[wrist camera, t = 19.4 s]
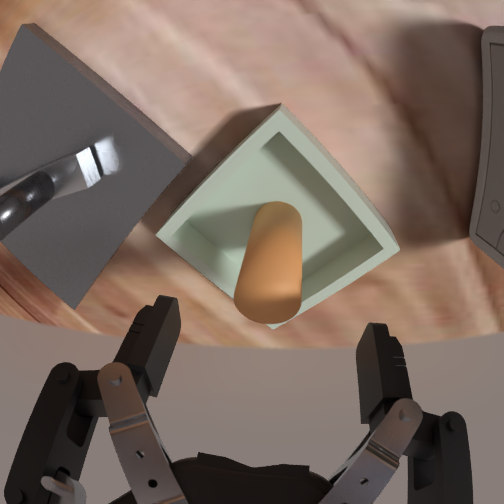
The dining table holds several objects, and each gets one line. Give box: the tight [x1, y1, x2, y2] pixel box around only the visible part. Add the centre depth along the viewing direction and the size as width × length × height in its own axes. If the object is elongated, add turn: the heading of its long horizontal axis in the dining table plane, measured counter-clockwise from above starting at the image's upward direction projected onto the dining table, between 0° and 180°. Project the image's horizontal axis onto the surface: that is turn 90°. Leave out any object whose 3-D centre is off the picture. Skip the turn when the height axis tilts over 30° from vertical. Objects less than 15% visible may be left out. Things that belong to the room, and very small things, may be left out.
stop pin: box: [234, 201, 302, 324], centre depth 18 cm, size 3×3×8 cm
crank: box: [0, 147, 101, 241], centre depth 17 cm, size 16×4×7 cm, turn 102°
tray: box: [156, 104, 400, 329], centre depth 20 cm, size 11×11×3 cm
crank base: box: [0, 23, 193, 310], centre depth 21 cm, size 18×21×2 cm
